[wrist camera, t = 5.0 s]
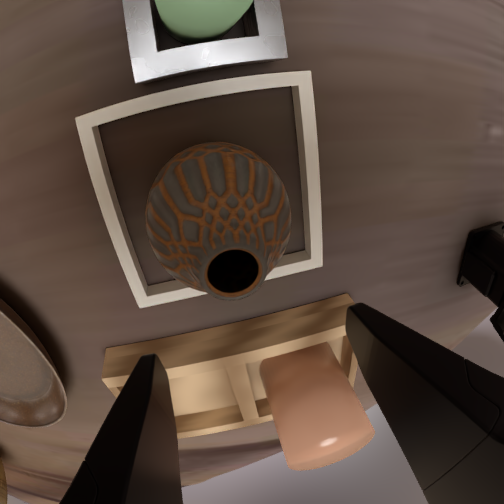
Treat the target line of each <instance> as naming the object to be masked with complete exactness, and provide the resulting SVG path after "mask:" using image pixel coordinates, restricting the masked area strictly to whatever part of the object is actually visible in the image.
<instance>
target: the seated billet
mask: <svg viewBox="0 0 504 504" xmlns="http://www.w3.org/2000/svg"><path fill="white" fill-rule="evenodd" d="M259 374H260V377H261V380H262V384H263V387H264V390H265V394H266V397H267V400H268V404H269V407H270V410H271V413H272V417H273V420H274V423H275V426H276V429H277V433H278V436H279V439H280V442H281V445H282V449H283V452H284V455H285V458H286V461H287V464H288V467H289V468H290V469H293V470H310V469H316V468H320V467H324V466H327V465H330V464H333V463H335V462H337V461H340V460H342V459H344V458H346V457H348V456H350V455H352V454H354V453H355V452H357V451H358V450H360V449H361V448H363V447H364V446H365V445H366V444H368V443H369V442H370V441H371V439H372V438H373V436H374V434H375V431H374V429H373V427H372V425H371V423H370V421H369V419H368V417H367V415H366V413H365V411H364V409H363V407H362V405H361V403H360V401H359V399H358V398H357V396H356V394H355V392H354V390H353V388H352V386H351V384H350V382H349V380H348V378H347V377H346V375H345V373H344V371H343V369H342V367H341V365H340V363H339V361H338V360H337V358H336V356H335V354H334V352H333V350H332V348H331V346H330V345H329V343H328V342H327V341H326V342H323V343H320V344H316V345H313V346H310V347H306V348H303V349H299V350H296V351H292V352H289V353H285V354H281V355H278V356H274V357H270V358H266V359H263V360H262V362H261V364H260V368H259Z"/></svg>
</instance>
